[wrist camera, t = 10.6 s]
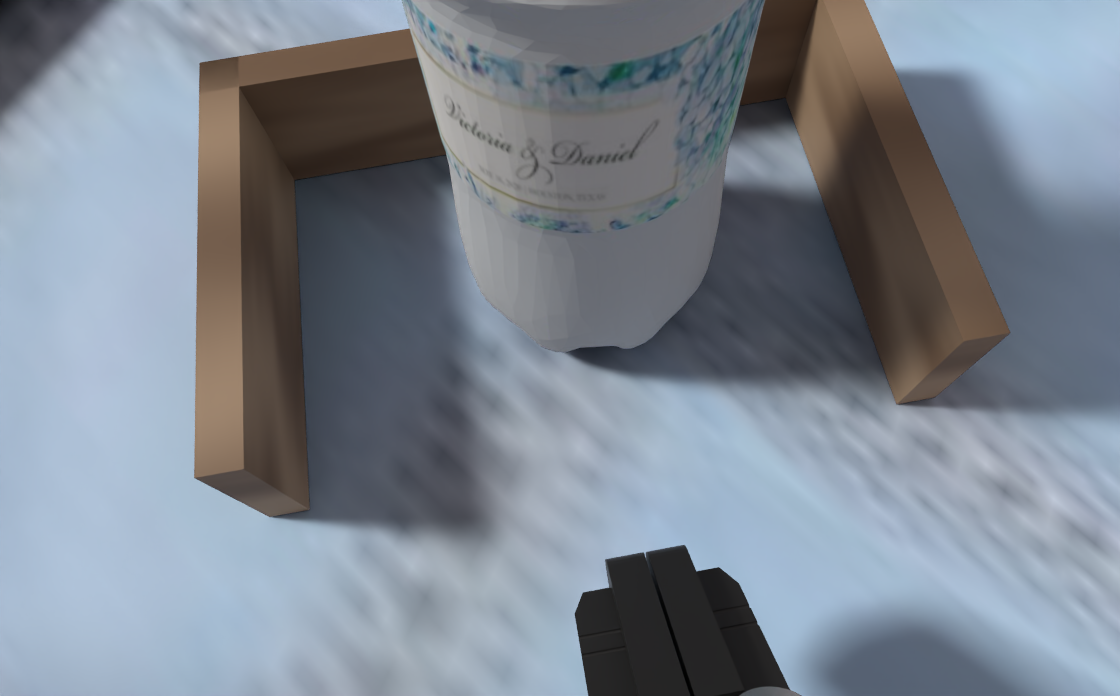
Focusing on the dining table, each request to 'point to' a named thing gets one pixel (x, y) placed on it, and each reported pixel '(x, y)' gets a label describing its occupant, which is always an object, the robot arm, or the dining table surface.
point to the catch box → (412, 133)
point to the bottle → (586, 151)
